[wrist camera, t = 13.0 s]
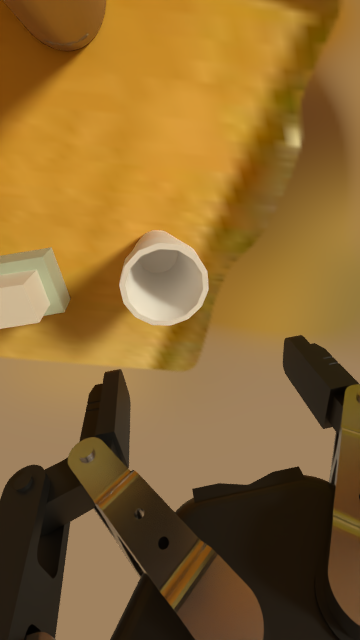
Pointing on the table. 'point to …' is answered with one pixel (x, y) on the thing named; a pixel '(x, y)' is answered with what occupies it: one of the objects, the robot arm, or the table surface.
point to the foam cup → (163, 280)
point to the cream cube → (22, 299)
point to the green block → (40, 275)
